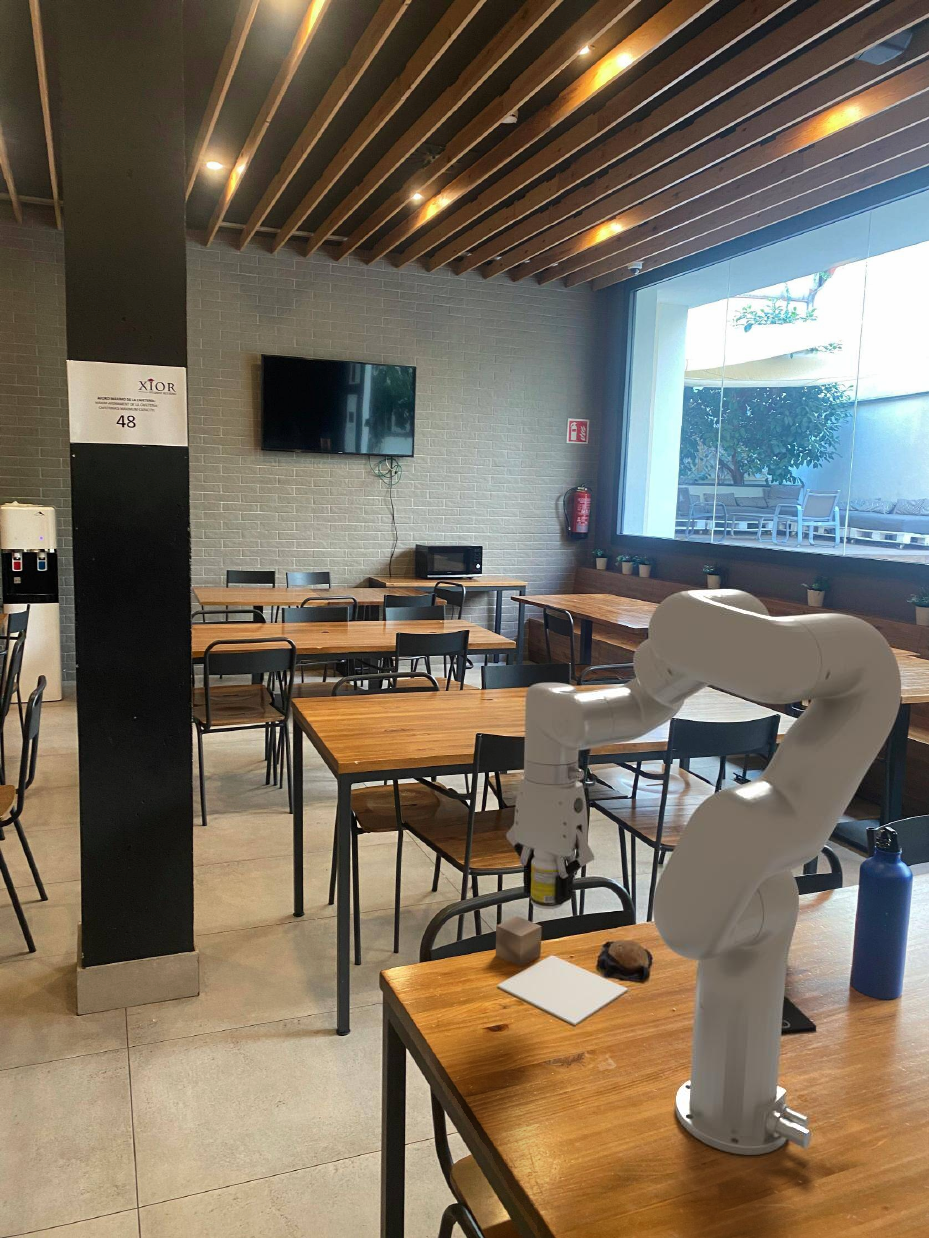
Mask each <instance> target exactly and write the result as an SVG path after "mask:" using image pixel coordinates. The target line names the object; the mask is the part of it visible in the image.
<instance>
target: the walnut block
mask: <svg viewBox="0 0 929 1238" xmlns="http://www.w3.org/2000/svg"><path fill="white" fill-rule="evenodd" d="M495 929H496V933H495V936H496V937H495V956H496V957H498V958H500V959H502V960H504V961H506V962H508V963H510V964H513V965H515V966H516V967H519V968H521V967H523V966H525V965H526V964H528V963H531V962H532V961H534V960H536V959H538V958H541V955H542V954H541V953H542V952H541V951H542V926H541V925H540V924H537V923H535V922H532V921H530V920H528V919H525V918H523V917H521V916H518V915H516V916H514V917H512V918H510V919H508V920H505V921H503V922H501V923H500V924H497V925H496V928H495Z"/></svg>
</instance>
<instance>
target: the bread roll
mask: <svg viewBox="0 0 929 1238" xmlns="http://www.w3.org/2000/svg"><path fill="white" fill-rule="evenodd" d="M652 954H653V953H651V952H650V951H649V950H648V949H647V948H644V947H643V946H642V945H641V944H639V943H637V942H636V941H634V940H626V939H617V940H613V941H612V940H611V941H609V940H607V941H606V942H605V943H603V944H602V946H601V949H600V953H599V954H598V956H597V960H596V961H597V963H596V965H597V966H598V968H599V973H600V974H599V976H600V977H603V978H605V979H612V980H613V979H615V980H621V981H626V982H630V983H631V982H633V983H648V982H649V981H650V978H651V966H652V965H653V959H654V958H653V955H652Z"/></svg>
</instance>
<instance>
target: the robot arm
mask: <svg viewBox="0 0 929 1238" xmlns="http://www.w3.org/2000/svg"><path fill="white" fill-rule="evenodd" d="M892 649H893V648H892V647H891V646H890V643H888V640H887V639H886V638H885V636H884V635H883V634H882V633H881V632H880V631H879V630H878V629H877V628H876V627H874V626H873V624H871V623H869V622H867V621H865V620H863V619H861V618H859V617H855V616H854V615H849V614H848V615H847V614H844V613H843V614H842V613H834V612H833V613H813V614H812V613H811V614H810V613H809V614H800V615H787V616H771V615H770V613H769V611H768V609H767V608H766V606H765V604H764V603H763V602H762V601H761V600H760V599H758V598H757V597H755V596H754V595H753V594H751V593H748V592H746V591H744V590H743V591H742V590H740V589H734V588H733V589H732V588H728V589H727V588H721V589H697V590H695V589H694V590H693V589H691V590H683V591H680V592H676V593H673V594H671V595H669V596H667V597H666V598H665V599H664V600H662V601H661V602H660V603H659V604H658V606H656V608H655V609H654V611H653V613H652V615H651V617H650V619H649V623H648V638H647V639H645V640H644V641H643V642H641V643H640V644H639V645H638V647H636V650H635V652H634V654H633V658H632V659H633V661H632V663H633V664H632V665H633V672H634V674H635V677H634V678H632V679H631V680H630V681H628V682H627V683H626V682H625V684H623V685H620V686H617V687H608V688H602V689H601V688H599V689H594V690H586V691H578V689H577V688H576V687H575V686H573V685H571V684H568V683H561V682H539V683H535V684H532V685H530V686H529V687H528V689H527V691H526V692H525V693H526V694H525V708H524V710H525V711H524V713H525V715H524V716H525V718H524V720H525V721H524V754H523V755H524V756H523V757H524V759H523V761H524V763H523V765H524V766H523V775H522V776H521V778H520V780H519V784H518V789H517V792H516V800H515V809H514V819H513V820H514V822H513V824H512V826H511V827H510V829H508V831H507V833H506V834H505V837H506V839H507V840H508V841H509V843H510V845H512V846H513V848H514V850H515V852H516V854H517V856H518V857H519V862H520V864H521V866H523V876H522V878H523V880H522V881H523V892H524V894H527V895H528V894H531V862H532V859H533V858H534V857H535V856H534V849H539V850H542V851H545V852H547V853H550V854H553V855H556V859H557V864H558V870H559V876H557V877H556V882H555V902H556V904H558V905H561V904H563V905H564V903H567V902H568V901H570V900H571V899H572V896H573V893H574V892H573V891H574V890H573V889H574V874H575V873H577V872H578V871H579V870H580V869H582V867H584V866H586V865H587V864H589V863H591V862H593V861H594V860H595V854H594V853H593V851H592V849H591V847H590V846H589V844H588V843H589V842H588V839H589V838H588V837H589V836H588V832H589V831H588V830H589V829H588V828H589V826H588V810H587V802H586V800H587V799H586V796H585V790H584V785H583V783H582V782H579V781H578V780H584V777H585V771H584V770H583V769H580V768H579V751H583V750H589V749H594V748H599V747H604V746H609V745H615V744H621V743H627V742H632V741H634V740H636V739H637V740H638V739H640V738H641V737H643V736H645V735H647V734H648V733H651V732H652V731H653V730H656V729H657V728H659V727H660V726H662V725H664V724H666V723H667V722H668V721H670V720H672V718H674V717H675V716H676V715H677V714H678V713H679V711H680V710H681V708H682V707H683V705H684V704H685V701H686V700H687V699H689V698H690V697H692V696H694V695H696V694H697V693H698V692H700V691H701V690H703V689H704V688H706V687H708V686H713V687H716V688H719V689H722V690H724V691H727V692H730V693H732V694H734V695H735V694H736V695H738V696H740V697H742V698H746V699H748V700H753V701H755V702H759V703H765V704H772V705H773V704H774V705H777V704H778V705H784V704H793V703H798V702H804V701H809V700H810V702H809V704H808V705H807V707H806V708H805V710H804V711H803V712H802V713H801V714H800V715H799V717H797V718H796V720H795V721H794V722H793V723H792V724H791V725H790V727H789V729H787V731H786V732H785V733H784V736H783V737H782V739H781V740H780V743H779V745H778V747H777V748H776V751H775V753H774V755H773V756H772V758H771V759H770V761H769V763H768V765H767V767H766V768H765V769H764V771H762V773H761V774H760V775H759V776H758V777H757V778H755V779H753V780H752V781H749V782H746V783H744V784H738V785H735V786H731V787H728V788H724V789H721V790H719V791H716V792H715V793H713V794H711V795H709V796H708V797H707V798H705V799H704V801H702V802H701V803H700V804H699V805H698V806H697V808H695V810H694V811H693V813H691V816H690V817H689V820H687V822H686V825H685V827H684V829H683V831H682V833H681V835H680V837H679V839H678V841H677V843H676V845H675V846H674V848H673V851H672V852H671V854H670V857H669V859H668V861H667V863H666V865H665V867H664V869H663V871H662V873H661V874H660V875H661V876H660V877H659V879H658V882H657V884H656V887H655V892H654V896H653V901H652V902H653V904H652V914H653V921H654V925H655V927H656V931H657V932H658V935H659V937H660V939H661V940H662V942H663V943H664V944H665V946H666V947H667V948H668V949H669V950H671V951H672V952H673V953H675V954H676V955H678V956H680V957H683V958H684V959H689V960H694V961H697V967H696V981H695V991H694V993H695V994H694V1008H693V1009H694V1011H693V1013H694V1014H693V1028H692V1046H691V1063H690V1078H689V1079H690V1080H688V1081H686V1082H685V1083H683V1084H682V1085H681V1086H680V1087H679V1088H678V1090H677V1092H676V1095H675V1102H674V1104H675V1105H674V1107H675V1108H674V1109H675V1113H676V1117H677V1118H678V1120H679V1121H680V1124H681V1125H682V1126H683V1128H685V1129H686V1131H687V1132H689V1133H690V1134H691V1135H692V1136H694V1138H696V1139H698V1140H699V1141H700V1142H702V1143H704V1144H706V1145H708V1146H710V1147H712V1148H714V1149H717V1150H720V1151H723V1152H726V1153H731V1154H736V1155H745V1156H746V1155H747V1156H751V1155H752V1156H753V1155H755V1156H756V1155H764V1154H768V1153H771V1152H773V1151H775V1150H778V1149H779V1148H781V1146H783V1145H784V1144H785V1142H787V1140H788V1142H791V1143H792V1144H795V1145H797V1146H798V1147H800V1148H802V1149H805V1150H806V1149H807V1148H808V1147H809V1145H810V1143H811V1139H812V1131H811V1130H810V1129H808V1125H809V1121H810V1120H809V1119H810V1118H809V1117H808V1116H806V1115H805V1114H802V1113H801V1112H799V1111H795V1110H793V1109H791V1108H789V1105H788V1104H786V1097H787V1096H786V1095H787V1090H786V1089H784V1088H782V1087H780V1086H779V1085H778V1083H779V1068H780V1054H781V1042H782V1041H781V1038H782V1034H781V1028H782V1013H783V1001H784V995H785V988H786V973H787V967H788V966H787V965H788V959H789V954H790V949H791V946H792V945H791V944H792V941H793V937H794V933H795V929H796V924H797V921H798V917H799V911H800V909H799V908H800V894H799V887H798V884H797V881H796V880H797V879H796V878H795V876H794V874H793V872H792V870H794V869H797V868H799V867H802V866H804V865H806V864H808V863H809V862H811V861H812V860H814V859H816V857H817V856H818V855H820V853H821V852H822V850H823V849H824V848H825V846H826V845H827V843H828V840H829V839H830V838H831V835H832V833H833V832H834V829H836V827H837V825H838V823H839V821H840V819H841V818H842V816H843V814H844V813H845V811H846V809H847V807H848V806H849V804H850V803H851V801H852V799H853V798H854V796H855V794H856V792H857V790H858V788H859V786H860V784H861V783H862V781H863V779H864V777H865V775H866V774H867V773H868V771H869V769H870V767H871V765H872V764H873V762H874V761H875V759H876V758H877V756H878V754H879V752H880V751H881V749H882V748H883V746H884V745H885V743H886V740H887V739H888V737H889V735H890V733H891V731H892V729H893V727H894V724H895V722H896V719H897V716H898V713H899V709H900V705H901V700H902V676H901V670H900V668H899V667H900V666H899V664H898V661H897V658H896V656H895V653H894V651H893V650H892ZM574 850H575V851H577V852H578V857H577V858H576V856H575V851H574Z"/></svg>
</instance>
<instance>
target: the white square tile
mask: <svg viewBox="0 0 929 1238" xmlns="http://www.w3.org/2000/svg"><path fill="white" fill-rule="evenodd" d="M496 985H497V986H496V987H497V988H499V989H501V990H503V991H505V992H506V993H509V994H511V995H513V996H515V997H517V998H519V999H521V1000H522V1001H525V1002H527V1003H529V1004H531V1005H532V1006H535V1007H536V1008H539V1009H540V1010H543V1011H545V1012H547V1013H549V1014H551V1015H553V1016H555V1017H557V1018H559V1019H562V1020H563V1021H565V1022H566V1023H567V1022H568V1023H569V1024H571V1025H573V1026H576V1025H579V1023H582V1022H583V1021H584V1020H586V1019H587V1018H589V1017H590V1016H592V1015H593V1014H595V1013H597V1011H599V1010H601V1009H602V1008H604V1007H605V1006H607V1005H608V1004H610V1003H612V1002H613V1001H615V1000H616V999H617V998H619V997H621V996H622V995H623V994H625V993H627V992H628V991H629V988H628V987H625V986H623V985H621V984H618V983H616V982H614V981H611V980H610V979H608V978H605V977H602V976H601V975H598V974H596V973H594V972H591V971H588V970H586V969H584V968H583V967H580V966H579V965H578V966H577V965H575V964H573V963H571V962H568V961H566V960H565V959H562V958H560V957H557V956H555V955H553V954H551V955H549V956H547V957H546V958H544V959H542V960H540V961H539V962H536V963H535V964H533V965H531V966H529V967H528V968H526V969H524V970H522V971H520V972H518V973H517V974H515V975H512V976H511V977H509V978H508V979H505V980H504V981H502V982H500V983H498V984H496Z"/></svg>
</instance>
